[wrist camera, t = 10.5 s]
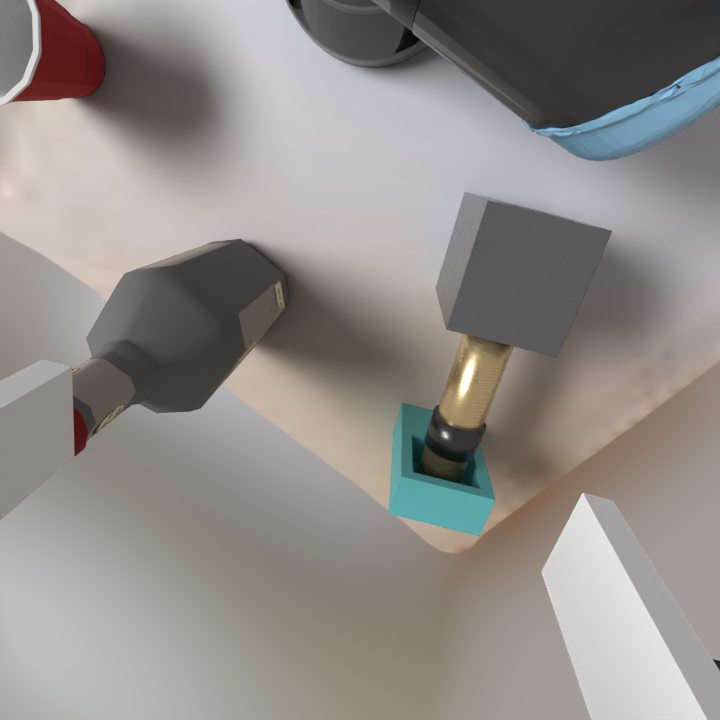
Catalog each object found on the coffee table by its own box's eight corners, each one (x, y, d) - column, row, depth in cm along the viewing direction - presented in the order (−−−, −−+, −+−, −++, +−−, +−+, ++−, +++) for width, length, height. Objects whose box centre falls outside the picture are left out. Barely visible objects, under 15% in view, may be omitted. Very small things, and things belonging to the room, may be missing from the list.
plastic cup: (159, 55, 39) (63, 9, 28) (94, 153, 43) (-14, 146, 32) (53, -55, 37) (-98, -152, 26) (-6, 58, 40) (-161, 15, 29)
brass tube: (468, 289, 38) (477, 303, 33) (523, 302, 38) (538, 319, 33) (412, 461, 44) (412, 491, 40) (458, 472, 44) (463, 504, 40)
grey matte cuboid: (464, 192, 41) (487, 199, 29) (553, 214, 41) (612, 231, 29) (435, 288, 44) (446, 329, 33) (517, 308, 44) (557, 357, 33)
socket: (402, 403, 50) (400, 476, 38) (473, 421, 50) (495, 500, 38) (393, 433, 51) (388, 513, 39) (462, 451, 51) (479, 536, 39)
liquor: (181, 295, 47) (-136, 468, 20) (227, 224, 44) (-74, 312, 16) (253, 349, 49) (53, 580, 21) (303, 284, 46) (143, 457, 18)
